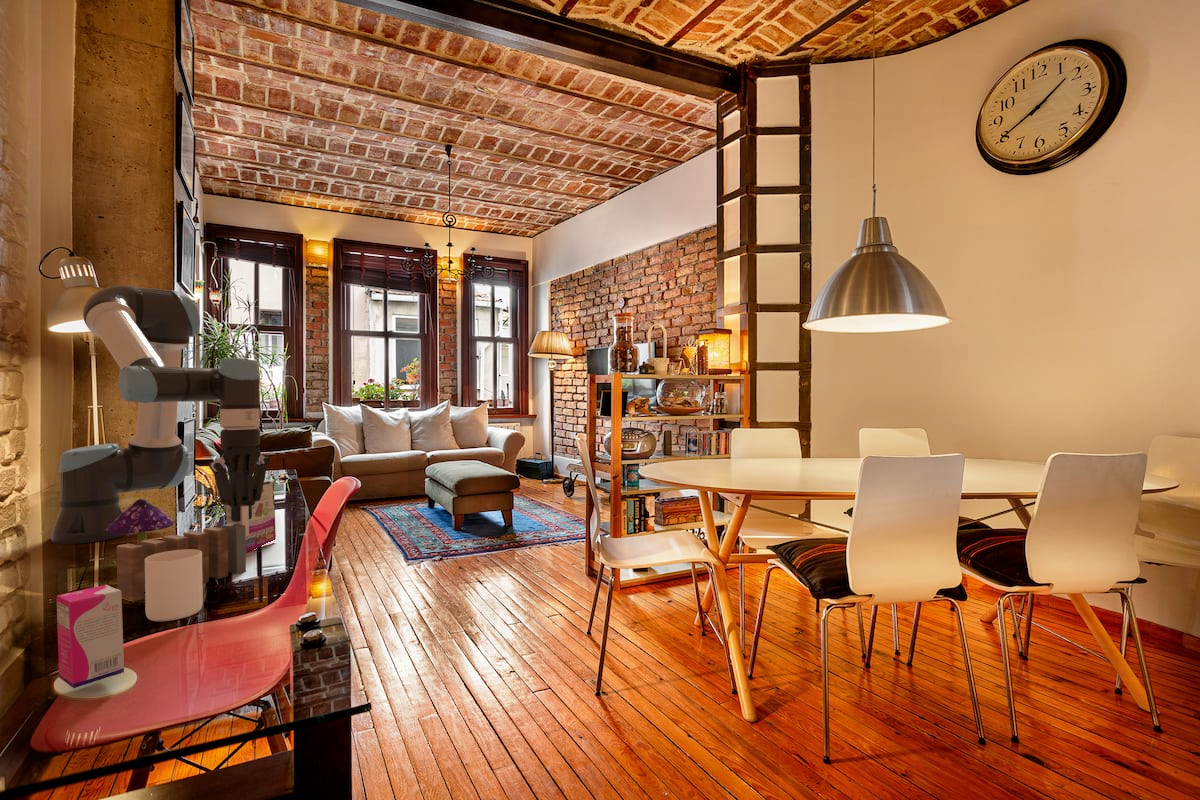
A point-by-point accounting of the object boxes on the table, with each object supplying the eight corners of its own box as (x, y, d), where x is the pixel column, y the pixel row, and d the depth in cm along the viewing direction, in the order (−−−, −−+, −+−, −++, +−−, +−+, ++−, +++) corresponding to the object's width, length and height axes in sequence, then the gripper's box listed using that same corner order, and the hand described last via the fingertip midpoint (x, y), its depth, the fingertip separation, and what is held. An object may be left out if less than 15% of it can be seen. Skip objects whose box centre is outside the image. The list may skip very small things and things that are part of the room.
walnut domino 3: (177, 589, 121) (177, 539, 121) (163, 586, 124) (162, 536, 124) (188, 587, 123) (187, 537, 123) (173, 583, 125) (173, 534, 125)
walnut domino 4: (198, 584, 125) (198, 535, 125) (184, 581, 127) (183, 532, 127) (208, 581, 127) (208, 532, 127) (194, 578, 129) (193, 530, 129)
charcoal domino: (237, 573, 132) (236, 527, 132) (222, 570, 134) (221, 525, 134) (245, 571, 134) (245, 525, 134) (231, 568, 136) (230, 523, 136)
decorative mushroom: (133, 575, 132) (131, 504, 132) (92, 570, 136) (91, 502, 135) (188, 559, 144) (187, 495, 143) (149, 555, 147) (148, 493, 147)
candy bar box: (259, 543, 159) (258, 479, 159) (276, 543, 158) (275, 480, 158) (225, 554, 148) (224, 486, 148) (243, 555, 147) (242, 486, 147)
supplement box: (109, 662, 89) (107, 583, 88) (125, 672, 85) (123, 590, 85) (57, 677, 84) (55, 594, 84) (71, 689, 80) (70, 602, 80)
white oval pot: (143, 606, 112) (142, 550, 112) (197, 597, 117) (197, 543, 117) (146, 626, 102) (145, 564, 102) (205, 614, 108) (204, 555, 107)
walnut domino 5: (218, 578, 129) (217, 531, 128) (204, 575, 131) (203, 528, 131) (228, 576, 130) (227, 529, 130) (213, 573, 133) (212, 526, 133)
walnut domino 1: (132, 602, 114) (131, 548, 114) (117, 598, 117) (116, 545, 116) (144, 599, 116) (143, 546, 116) (129, 595, 118) (128, 543, 118)
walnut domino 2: (155, 595, 118) (154, 543, 118) (141, 592, 120) (140, 541, 120) (167, 592, 120) (166, 541, 120) (152, 589, 122) (151, 538, 122)
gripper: (221, 430, 128) (223, 543, 128) (278, 427, 140) (280, 531, 140) (199, 429, 131) (201, 540, 132) (257, 426, 143) (258, 528, 143)
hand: (241, 535), depth 136 cm, fingers closed
